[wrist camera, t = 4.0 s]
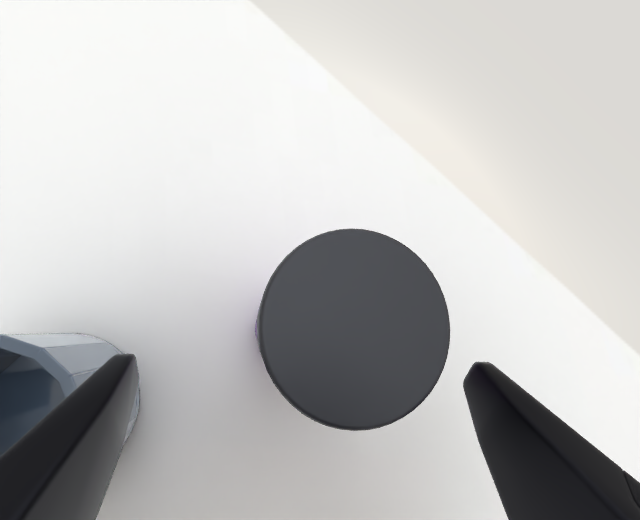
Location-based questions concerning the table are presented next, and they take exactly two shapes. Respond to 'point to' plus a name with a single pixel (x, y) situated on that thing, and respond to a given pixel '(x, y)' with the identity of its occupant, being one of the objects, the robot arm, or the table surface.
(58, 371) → the pen holder
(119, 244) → the table surface
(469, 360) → the table surface
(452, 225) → the table surface
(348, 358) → the glue stick
